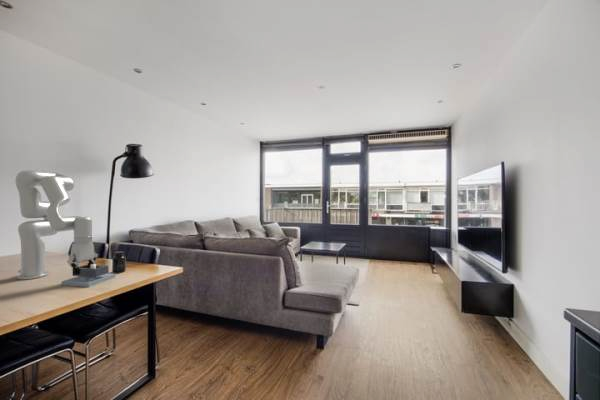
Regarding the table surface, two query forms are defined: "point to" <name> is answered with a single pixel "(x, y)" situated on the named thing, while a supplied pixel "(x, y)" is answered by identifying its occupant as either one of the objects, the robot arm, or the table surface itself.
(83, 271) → the dark gray open box
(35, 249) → the robot arm
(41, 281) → the table surface
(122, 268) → the supplement bottle
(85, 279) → the board
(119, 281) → the table surface
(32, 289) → the table surface
